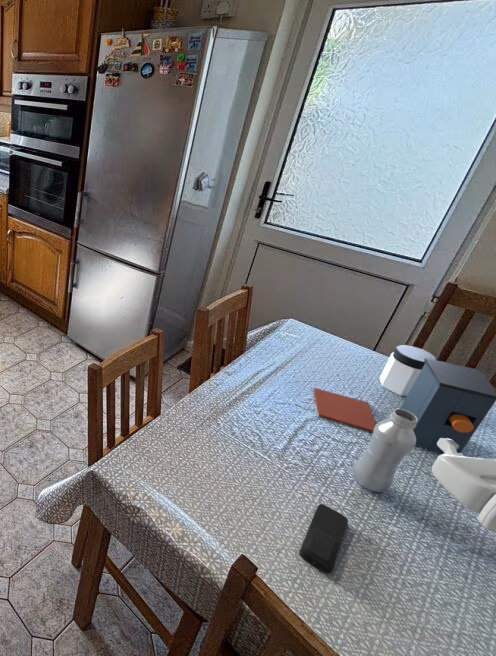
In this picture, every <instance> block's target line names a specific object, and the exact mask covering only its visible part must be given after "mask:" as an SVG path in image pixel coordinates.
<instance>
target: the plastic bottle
mask: <svg viewBox="0 0 496 656" xmlns="http://www.w3.org/2000/svg"><path fill="white" fill-rule="evenodd" d="M417 421H418V419H417V417H416V416H415V415H414V414H412V413H410V412H408V411H406V410H403V409H400V408H395V409H393V411H392V413H390V415H389V418H385V419H383V420H379V421H378V422H377V423H375V424H376V425H375V427H374V430H373V432H372V435H371V438H370V441H369V443H368V446H367V448H366V449H365V451H363V453H362V455H361V456H360V457H359V458H358V459H357V460H356V461H355V462H354V463H353V466H352V470H351V471H352V475H353V478H354V479H355V480H356V482H357V483H358V484H360V485H361V486H362V487H364V488H365V489H367V490H369V491H372V492H377V493H380V492H381V493H382V492H387V490H389V489H390V488H391V487H392V486H393V482H394V478H395V474H396V472H397V470H398V467H399V465H400V464H401V463H402V461H403V460H404V459H405V457H406V456H407V455H409V453H410V452H411V451H412V450H413V449H414V448H415V446H417V445H416V436H415V433H414V431H413V429H414V428H415V426H416V423H417Z"/></svg>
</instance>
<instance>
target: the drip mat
mask: <svg viewBox="0 0 496 656" xmlns="http://www.w3.org/2000/svg"><path fill="white" fill-rule="evenodd" d="M313 393H314V394H313V395H314V398H315V404H316V409H317V410H316V411H317V415H318V417H320V418H324V419H328V420H330V421H333V422H336V423H337V422H338V423H341V424H344V425H347V426H349V427H354V428H357V429H360V430H364V431H367V432H371V433H373V430H374V427H375V425H376V424H377V423H376V422H375V419H374V416H373V413H372V410H371V407H370V404H369V402H367V401H364V400H361V399H357V398H353V397H349V396H346V395H342V394H339V393H335V392H331V391H327V390H323V389H320V388H317V387H314V388H313Z"/></svg>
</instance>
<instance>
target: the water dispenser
mask: <svg viewBox="0 0 496 656" xmlns="http://www.w3.org/2000/svg"><path fill="white" fill-rule="evenodd" d="M424 361H425V364H424V366H423V368H422V370H421V372H420V374H419V375H418V377H417V379H416V381H415V383H414V384H413V386H412V388H411V390H410V392H409V393H408V395H407V396H405V399H404V401H403V403H402V404H401V406H400V407H399V409H403V410H406V411H408V412H410V413H412V414H414V415H415V416H416V417H417V419H418V421H417V423H416V426H415V428H414V429H413V431H414V433H415V436H416V445H415V446H418V447H421V448H423V449H428V450H431V451H434V452H437V453H441V454H444V451H442V450H441V449H440V448H439V447H438V445H437V442H438V441H439V439H440V438H446V439H452V440H453V441H454V442H455V443H457V444H458V445H459V448H458V449H457V450H456V451H457V453H462V452H463V450H464V449H465V447H466V446H467V444H468V443H469V441H470V440H471V438H472V437H473V435H474V434H475V432H476V431H477V429H478V428H479V426H480V425H481V424H482V422H483V420H484V419H485V418H486V416H487V414H488V413H489V412H490V410H491V409H492V407H493V406H494V404H495V403H496V388H495V387H494V386H493V384H492V383H491V382H490V380H489V379H488V378H487V376H486V375H485V374H484V373H483V371H482V370H481V369H477V368H473V367H468V366H464V365H458V364H455V363H449V362H446V361H442V360H441V361H440V360H437V359H436V360H433V359H428V358H425V360H424ZM454 414H462V415H465V416H467V417H468V418H469V420H470V421H471V423H472V424H473V426H474V429H473V430H472V431H471V432H467V433H463V432H459V431H456V430H455V429H454V428H453V426H452V424H451V423H450V421H449V417H450V416H451V415H454Z"/></svg>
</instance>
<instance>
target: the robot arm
mask: <svg viewBox="0 0 496 656" xmlns="http://www.w3.org/2000/svg"><path fill="white" fill-rule="evenodd" d="M437 445H438V447H439V448H440V449H441V450H442V451H444V453H441V454H439V455H438V456H437V458H436V459H435V460H434V462H433V464H432V466H431V474H432V475H433V476H434V478H435V479H436V480H437V481H438V482H439V483H440V484H441V485H442V487H444V489H446V490H447V492H449V493H450V494H451V495H452V496H453V497H454V498H455V499H456V500H457V501H458V502H459V503H460V504H462V505H463V506H464V507H465V508H467V509H468V510H470V511H472V512H474V513H477V514H478V516H477V521H478V522H479V523H480V524H481V525H482V526H483V527H484V528H485V529H486V530H487V531H490V532H493V533H496V459H495V458H485V457H475V456H474V457H473V456H466V455H464V454H463V453H462V452H461V453H457V451H456V450H457V449H458V448H459V445H458V444H457V443H455V442H454V441H453V440H452V439H446V438H440V439H439V441H438V442H437Z"/></svg>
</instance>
